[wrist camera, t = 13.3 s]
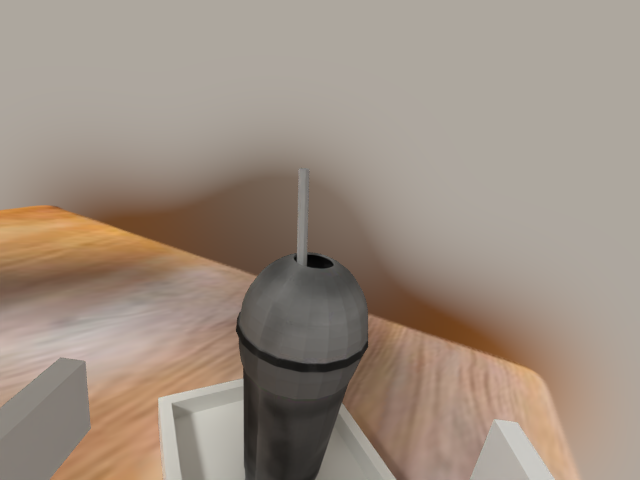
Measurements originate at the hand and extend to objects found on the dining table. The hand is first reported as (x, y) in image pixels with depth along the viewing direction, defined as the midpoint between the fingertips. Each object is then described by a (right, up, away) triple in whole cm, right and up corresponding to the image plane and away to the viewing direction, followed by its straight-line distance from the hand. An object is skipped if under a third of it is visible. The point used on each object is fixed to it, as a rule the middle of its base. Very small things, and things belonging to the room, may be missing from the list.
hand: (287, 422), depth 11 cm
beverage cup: (-2, -10, +11) cm, 15 cm away
